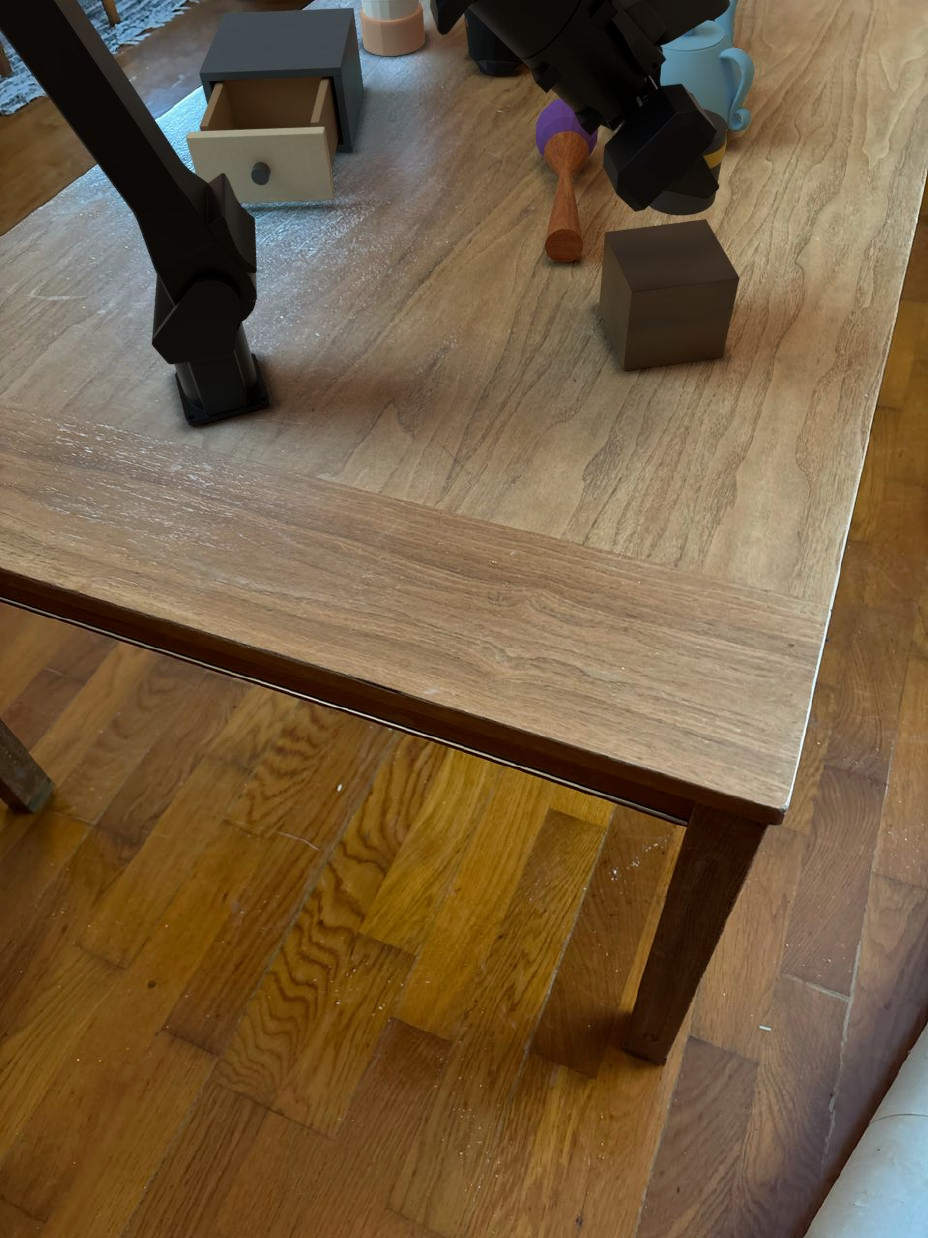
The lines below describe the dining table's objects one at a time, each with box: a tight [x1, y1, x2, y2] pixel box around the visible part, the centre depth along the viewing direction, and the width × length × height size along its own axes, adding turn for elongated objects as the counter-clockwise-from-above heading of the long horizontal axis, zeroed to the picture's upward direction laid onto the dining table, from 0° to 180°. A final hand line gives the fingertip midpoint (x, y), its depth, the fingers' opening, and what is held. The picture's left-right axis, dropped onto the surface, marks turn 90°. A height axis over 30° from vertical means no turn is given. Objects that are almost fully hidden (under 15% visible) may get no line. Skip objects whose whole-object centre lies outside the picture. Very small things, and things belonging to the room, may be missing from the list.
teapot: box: [660, 0, 755, 133], centre depth 91 cm, size 15×15×10 cm
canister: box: [648, 109, 728, 217], centre depth 64 cm, size 5×5×5 cm
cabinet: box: [198, 7, 365, 154], centre depth 96 cm, size 14×14×8 cm
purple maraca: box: [535, 97, 599, 263], centre depth 86 cm, size 6×6×20 cm
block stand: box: [598, 218, 741, 372], centre depth 73 cm, size 8×8×7 cm
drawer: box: [185, 76, 340, 205], centre depth 89 cm, size 14×12×6 cm
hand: (701, 172), depth 65 cm, fingers closed on canister, 5 cm apart
